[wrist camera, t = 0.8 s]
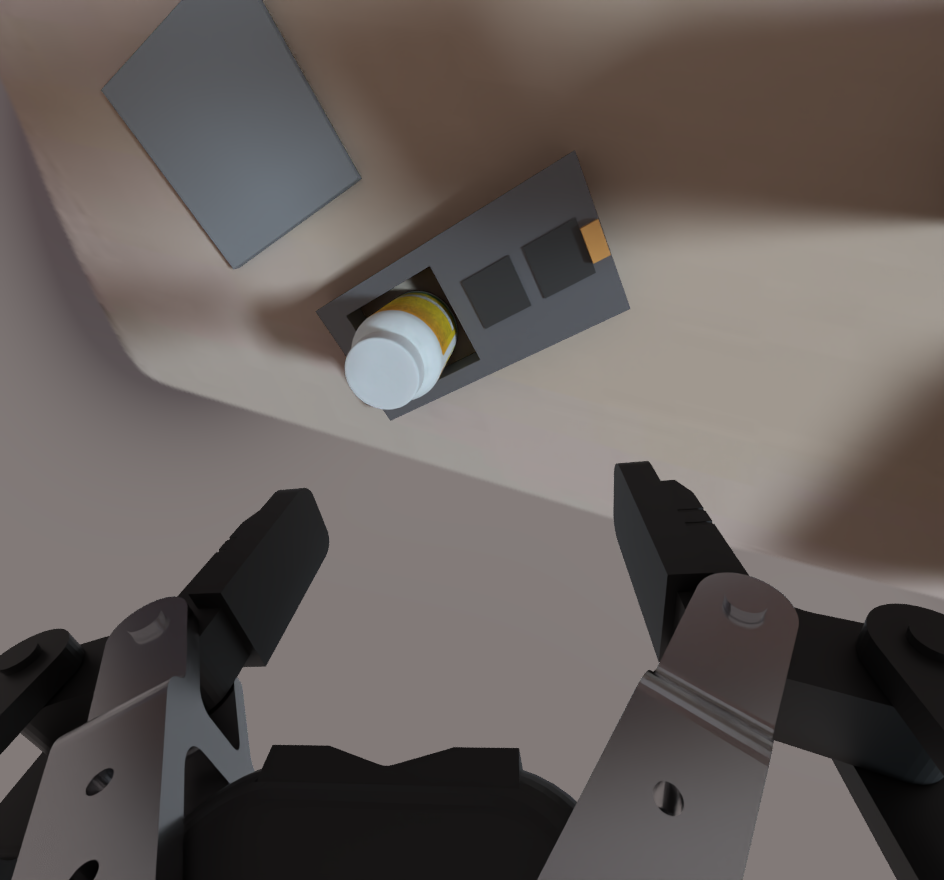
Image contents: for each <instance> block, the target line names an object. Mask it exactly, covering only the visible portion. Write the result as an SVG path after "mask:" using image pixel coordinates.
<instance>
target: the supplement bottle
mask: <svg viewBox="0 0 944 880" xmlns="http://www.w3.org/2000/svg"><path fill="white" fill-rule="evenodd" d="M457 335H458V330H457V323H456V319H455V317H454V315H453V313H452V311H451V310H450V308H449V307H448V306H447V304H446V303H445V302H444V301H443V300H441V299H440V298H439V297H437V296H435V295H433V294H431V293H428V292H424V291H411V292H407V293H405V294H402V295H401V296H399V297H397V298H396V299H394V300H393V301H391V302H390V303H388V304H387V305H385V306H384V307H383V308H381V309H380V310H378V311H377V312H375V313H374V314H373V315H371V316H369V317H368V318H367V319H366V320H365V321H364V322H363V323H362V324H361V325H360V326H359V328H358V329H357V331H356V333H355V335H354V338H353V341H352V347H351V349H350V351H349V353H348V355H347V357H346V360H345V376H346V380H347V382H348V385H349V386H350V388H351V390H352V391H353V392H354V394H355V395H356V396H357V397H358V398H359V399H360V400H362V401H363V402H364V403H366V404H368V405H370V406H372V407H375V408H379V409H385V410H390V409H397V408H400V407H402V406H404V405H406V404H407V403H409V402H410V401H411V400H414V399H417V398H419V397H421V396H423V395H424V394H426V393H427V392H429V391H430V390H431V389H432V388H433V386H434V385H435V384H436V382H437V381H438V379H439V377H440V375H441V373H442V371H443V369H444V367H445V365H446V363H447V361H448V359H449V358H450V356H451V354H452V352H453V350H454V347H455V345H456V342H457Z"/></svg>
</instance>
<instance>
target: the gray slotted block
mask: <svg viewBox="0 0 944 880" xmlns="http://www.w3.org/2000/svg"><path fill="white" fill-rule="evenodd" d="M429 266H430V267H431V269H432V271H433V273H434V275H435V276H436V278H437V280H438V282H439V284H440V286H441V288H442V289H443V291H444V293H445V295H446V297H447V299H448V301H449V302H450V304H451V306H452V308H453V310H454V312H455V314H456V315H457V317H458V319H459V321H460V323H461V325H462V327H463V328H464V330H465V332H466V334H467V336H468V338H469V340H470V341H471V343H472V345H473V347H474V349H475V351H476V352H475V353H473V354H471V355H469V356H467V357H465V358H463V359H461V360H459V361H457V362H455V363H453V364H451V365H449V366H447V367H445V368H444V369H443V371H442V373H441V375H440V377H439V379H438V381H437V382H436V384H435V385H434V386H433V388H432V389H431V390H430V391H429V392H427V393H426V394H424V395H423V396H421V397H419V398H417V399H414V400H411V401H410V402H409V403H407V404H406V405H404V406H402V407H400V408H397V409H390V410H385V409H383V410H384V412H385V413H386V415H387V416H388V418H389V419H390V421H391V420H393V419H395V418H397V417H399V416H402V415H404V414H406V413H408V412H410V411H412V410H414V409H417V408H419V407H421V406H423V405H425V404H427V403H429V402H432V401H434V400H436V399H438V398H440V397H442V396H444V395H447V394H449V393H451V392H453V391H455V390H457V389H459V388H462V387H464V386H466V385H468V384H470V383H472V382H474V381H477V380H479V379H481V378H483V377H485V376H487V375H489V374H492V373H494V372H496V371H498V370H500V369H502V368H504V367H507V366H509V365H511V364H513V363H515V362H517V361H519V360H522V359H524V358H526V357H528V356H530V355H532V354H534V353H537V352H539V351H541V350H543V349H545V348H547V347H549V346H552V345H554V344H556V343H558V342H560V341H562V340H564V339H567V338H569V337H571V336H573V335H575V334H577V333H579V332H582V331H584V330H586V329H588V328H590V327H592V326H594V325H597V324H599V323H601V322H603V321H605V320H607V319H609V318H612V317H614V316H616V315H618V314H620V313H622V312H624V311H627V310H629V309H630V306H629V303H628V300H627V298H626V295H625V292H624V289H623V286H622V283H621V281H620V278H619V275H618V272H617V269H616V266H615V263H614V261H613V258H612V255H611V252H610V249H609V246H608V243H607V241H606V238H605V235H604V232H603V229H602V226H601V224H600V221H599V218H598V215H597V212H596V209H595V206H594V204H593V201H592V198H591V195H590V192H589V189H588V186H587V184H586V181H585V178H584V175H583V172H582V169H581V166H580V164H579V161H578V158H577V155H576V152H575V150H574V151H573V152H571V153H570V154H568V155H566V156H565V157H563V158H561V159H560V160H558V161H557V162H555V163H553V164H552V165H550V166H549V167H547V168H545V169H544V170H542V171H541V172H539V173H537V174H536V175H534V176H533V177H531V178H529V179H528V180H526V181H524V182H523V183H521V184H520V185H518V186H516V187H515V188H513V189H512V190H510V191H508V192H507V193H505V194H504V195H502V196H500V197H499V198H497V199H495V200H494V201H492V202H491V203H489V204H487V205H486V206H484V207H483V208H481V209H479V210H478V211H476V212H475V213H473V214H471V215H470V216H468V217H466V218H465V219H463V220H462V221H460V222H458V223H457V224H455V225H454V226H452V227H450V228H449V229H447V230H446V231H444V232H442V233H441V234H439V235H438V236H436V237H434V238H433V239H431V240H429V241H428V242H426V243H425V244H423V245H421V246H420V247H418V248H417V249H415V250H413V251H412V252H410V253H409V254H407V255H405V256H404V257H402V258H400V259H399V260H397V261H396V262H394V263H392V264H391V265H389V266H388V267H386V268H384V269H383V270H381V271H380V272H378V273H376V274H375V275H373V276H371V277H370V278H368V279H367V280H365V281H363V282H362V283H360V284H359V285H357V286H355V287H354V288H352V289H351V290H349V291H347V292H346V293H344V294H343V295H341V296H339V297H338V298H336V299H334V300H333V301H331V302H330V303H328V304H326V305H325V306H323V307H322V308H320V309H318V310H317V311H316V313H317V314H318V316H319V317H320V319H321V320H322V322H323V323H324V324H325V326H326V327H327V329H328V330H329V332H330V333H331V335H332V336H333V338H334V339H335V341H336V342H337V343H338V345H339V346H340V348H341V349H342V351H343V352H344V354H345V355H346V357H347V355H348V353H349V351H350V349H351V347H352V341H353V338H354V335H355V333H356V331H357V329H358V328H359V326H360V325H361V324H362V323H363V322H364V321H365V320H366V317H365V316H364V314H363V313H362V311H361V309H360V307H362V306H363V305H365V304H367V303H369V302H370V301H372V300H374V299H375V298H377V297H379V296H380V295H382V294H384V293H385V292H387V291H389V290H390V289H392V288H394V287H395V286H397V285H399V284H400V283H402V282H404V281H405V280H407V279H409V278H410V277H412V276H414V275H415V274H417V273H419V272H420V271H422V270H424V269H425V268H427V267H429Z"/></svg>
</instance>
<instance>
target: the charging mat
mask: <svg viewBox="0 0 944 880" xmlns="http://www.w3.org/2000/svg"><path fill="white" fill-rule="evenodd" d="M101 91H102V92H103V93H104V95H105V96H106V97H107V99H108V100H109V101H110V103H111V104H112V106H113V107H114V108H115V110H116V111H117V112H118V114H119V115H120V116H121V118H122V119H123V120H124V122H125V123H126V124H127V126H128V127H129V128H130V130H131V131H132V133H133V134H134V135H135V137H136V138H137V139H138V141H139V142H140V143H141V145H142V146H143V147H144V149H145V150H146V151H147V153H148V154H149V156H150V157H151V158H152V160H153V161H154V162H155V164H156V165H157V166H158V168H159V169H160V170H161V172H162V173H163V174H164V176H165V177H166V178H167V180H168V181H169V183H170V184H171V185H172V187H173V188H174V189H175V191H176V192H177V193H178V195H179V196H180V197H181V199H182V200H183V201H184V203H185V204H186V206H187V207H188V208H189V210H190V211H191V212H192V214H193V215H194V216H195V218H196V219H197V220H198V222H199V223H200V224H201V226H202V227H203V229H204V230H205V231H206V233H207V234H208V235H209V237H210V238H211V239H212V241H213V242H214V243H215V245H216V246H217V247H218V249H219V250H220V251H221V253H222V254H223V256H224V257H225V258H226V260H227V261H228V262H229V264H230V265H231V266H232V268H233V269H237V268H240V267H241V266H242V265H244V264H245V263H247V262H248V261H249V260H251V259H252V258H253V257H255V256H256V255H258V254H259V253H260V252H262V251H263V250H264V249H266V248H267V247H269V246H270V245H271V244H273V243H274V242H275V241H277V240H278V239H280V238H281V237H282V236H284V235H285V234H286V233H288V232H289V231H291V230H292V229H293V228H295V227H296V226H297V225H299V224H300V223H302V222H303V221H304V220H306V219H307V218H308V217H310V216H311V215H313V214H314V213H315V212H317V211H318V210H319V209H321V208H322V207H324V206H325V205H326V204H328V203H329V202H330V201H332V200H333V199H335V198H336V197H337V196H339V195H340V194H341V193H343V192H344V191H346V190H347V189H348V188H350V187H351V186H352V185H354V184H355V183H357V182H358V181H359V180H361V177H360V175H359V173H358V171H357V170H356V168H355V166H354V164H353V162H352V161H351V159H350V157H349V155H348V153H347V152H346V150H345V148H344V146H343V145H342V143H341V141H340V139H339V137H338V136H337V134H336V132H335V130H334V128H333V127H332V125H331V123H330V121H329V119H328V118H327V116H326V114H325V112H324V110H323V109H322V107H321V105H320V103H319V102H318V100H317V98H316V96H315V94H314V93H313V91H312V89H311V87H310V85H309V84H308V82H307V80H306V78H305V76H304V75H303V73H302V71H301V69H300V68H299V66H298V64H297V62H296V60H295V59H294V57H293V55H292V53H291V51H290V50H289V48H288V46H287V44H286V42H285V41H284V39H283V37H282V35H281V34H280V32H279V30H278V28H277V26H276V25H275V23H274V21H273V19H272V17H271V16H270V14H269V12H268V10H267V8H266V7H265V5H264V3H263V1H262V0H181V2H180V3H179V4H178V5H177V6H176V7H175V8H174V9H173V10H172V12H171V13H170V14H169V15H168V16H167V17H166V18H165V19H164V20H163V22H162V23H161V24H160V25H159V26H158V27H157V28H156V29H155V30H154V32H153V33H152V34H151V35H150V36H149V37H148V38H147V39H146V41H145V42H144V43H143V44H142V45H141V46H140V47H139V48H138V49H137V51H136V52H135V53H134V54H133V55H132V56H131V57H130V58H129V59H128V61H127V62H126V63H125V64H124V65H123V66H122V67H121V68H120V69H119V71H118V72H117V73H116V74H115V75H114V76H113V77H112V78H111V79H110V81H109V82H108V83H107V84H106V85H105V86H104V87H103V88H102V90H101Z"/></svg>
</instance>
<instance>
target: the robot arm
mask: <svg viewBox="0 0 944 880" xmlns="http://www.w3.org/2000/svg"><path fill="white" fill-rule="evenodd" d="M614 526H615V531H616V536H617V540H618V543H619V546H620V549H621V552H622V555H623V558H624V561H625V564H626V567H627V570H628V572H629V575H630V578H631V582H632V584H633V587H634V590H635V593H636V596H637V599H638V602H639V605H640V608H641V611H642V614H643V616H644V620H645V623H646V626H647V629H648V631H649V635H650V637H651V641H652V644H653V647H654V650H655V652H656V655H657V658H658V661H659V662H660V663H659V665H658V667H657V668H656V670H655V671H654V672H652V671H651V670H648V671H647V672H646V673H645V674H644V675H643V677H642V678H641V680H640V682H639V683H638V685H637V687H636V689H635V691H634V693H633V695H632V696H631V699H630V701H629V702H628V704H627V706H626V708H625V711H624V712H623V714H622V716H621V718H620V720H619V722H618V724H617V726H616V728H615V730H614V732H613V734H612V736H611V737H610V739H609V741H608V743H607V745H606V747H605V749H604V751H603V753H602V755H601V757H600V759H599V761H598V763H597V765H596V767H595V768H594V770H593V772H592V774H591V776H590V778H589V780H588V782H587V784H586V786H585V788H584V790H583V792H582V794H581V796H580V798H579V800H578V802H576V801H575V800H574V799H573V798H572V797H571V796H570V795H568V794H567V793H566V792H564V791H563V790H561V789H560V788H559V787H557V786H556V785H554V784H553V783H551V782H549V781H547V780H545V779H543V778H541V777H539V776H537V775H535V774H532V773H529V772H527V771H524V770H523V769H522V763H521V757H520V752H519V748H462V747H461V748H460V747H454V748H450V749H447V750H443V751H440V752H437V753H433V754H430V755H426V756H423V757H419V758H416V759H412V760H409V761H405V762H402V763H398V764H395V765H390V766H382V765H379V764H376V763H374V762H371V761H368V760H365V759H363V758H360V757H358V756H355V755H352V754H349V753H347V752H344V751H341V750H339V749H336V748H334V747H331V746H312V745H272V748H271V750H270V752H269V754H268V756H267V759H266V761H265V763H264V766H263V768H262V769H260V770H257V771H254V769H253V765H252V762H251V758H250V749H249V741H248V733H247V724H246V715H245V706H244V698H243V690H242V684H241V682H240V681H239V679H238V678H237V676H238V674H239V673H240V671H241V669H242V668H243V667H261V666H266V665H267V663H268V661H269V659H270V657H271V655H272V654H273V652H274V650H275V648H276V647H277V645H278V643H279V641H280V639H281V637H282V636H283V634H284V632H285V630H286V628H287V626H288V624H289V622H290V621H291V619H292V617H293V615H294V614H295V612H296V610H297V608H298V605H299V604H300V602H301V600H302V599H303V597H304V595H305V593H306V591H307V590H308V588H309V586H310V584H311V582H312V580H313V578H314V577H315V575H316V573H317V571H318V569H319V568H320V566H321V564H322V562H323V560H324V558H325V557H326V554H327V552H328V548H329V536H328V531H327V529H326V526H325V524H324V521H323V519H322V516H321V514H320V511H319V509H318V506H317V504H316V501H315V499H314V497H313V494H312V492H311V491H310V490H309V489H307V488H299V489H287V490H278V491H277V492H275V493H274V494H273V496H272V497H271V498H270V499H269V500H268V501H267V503H266V504H265V505H264V506H263V507H262V508H261V510H260V511H258V512H257V513H255V514H254V515H252V516H251V517H250V518H248V519H247V520H245V521H244V522H243V523H242V524H241V525H240V526H239V527H238V528H237V529H236V531H235V532H234V533H233V534H232V535H231V536H230V540H227V541H226V542H225V543H224V544H223V545H222V547H221V548H220V549H219V552H217V553H215V554H214V555H213V557H212V558H211V559H210V560H209V561H208V562H207V563H206V565H205V566H204V567H203V568H202V569H201V570H200V572H199V573H198V574H197V575H196V576H195V577H194V578H193V580H191V582H190V583H189V584H188V585H187V586H186V587H185V589H184V590H183V591H182V592H181V593H180V594H179V596H177V597H175V596H174V597H166V598H162V599H159V600H156V601H154V602H151V603H149V604H147V605H145V606H143V607H142V608H140V609H138V610H137V611H135V612H134V613H132V614H131V615H130V616H128V617H127V618H126V619H124V620H123V621H122V622H121V623H120V624H119V625H118V626H117V627H116V628H115V629H114V631H113V632H112V633H111V635H110V636H108V637H104V638H101V639H97V640H94V641H91V642H87V643H84V644H81V645H80V644H79V643H78V642H77V641H76V640H75V639H74V638H73V637H72V636H71V635H70V633H69V632H68V631H66V630H64V629H53V630H48V631H44V632H42V633H39V634H36V635H35V636H32V637H30V638H28V639H26V640H24V641H22V642H20V643H18V644H17V645H15V646H13V647H12V648H10V649H9V650H7V651H6V652H4V653H3V654H2V655H0V754H1V753H2V752H3V751H4V750H5V749H6V748H7V747H8V746H9V745H10V743H11V742H12V741H13V740H14V739H15V738H16V737H17V736H18V735H19V733H21V734H22V735H23V736H25V737H26V738H27V739H28V740H29V741H31V742H32V743H33V744H34V745H35V746H37V747H38V748H39V749H40V750H41V751H43V752H42V754H41V755H40V756H39V757H38V758H37V760H36V761H35V762H34V763H33V765H32V766H31V767H30V768H29V769H28V770H27V772H26V773H25V774H24V775H23V776H22V778H21V779H20V780H19V781H18V782H17V784H16V785H15V786H14V787H13V788H12V790H11V791H10V792H9V793H8V795H7V796H6V797H5V798H4V799H3V801H2V802H1V803H0V880H743V876H744V871H745V867H746V862H747V858H748V854H749V850H750V845H751V841H752V837H753V832H754V828H755V824H756V820H757V815H758V811H759V806H760V802H761V798H762V793H763V789H764V785H765V780H766V776H767V772H768V768H769V763H770V759H771V754H772V749H773V741H774V740H775V741H779V742H782V743H785V744H788V745H791V746H795V747H797V748H800V749H803V750H807V751H810V752H813V753H816V754H819V755H822V756H825V757H828V758H831V759H832V760H833V762H834V764H835V766H836V768H837V769H838V771H839V773H840V775H841V777H842V779H843V781H844V782H845V784H846V786H847V788H848V790H849V792H850V794H851V795H852V797H853V799H854V801H855V803H856V805H857V806H858V808H859V810H860V812H861V814H862V816H863V818H864V819H865V821H866V823H867V825H868V827H869V829H870V831H871V832H872V834H873V836H874V838H875V840H876V842H877V844H878V845H879V847H880V849H881V851H882V853H883V855H884V856H885V858H886V860H887V862H888V864H889V866H890V868H891V869H892V871H893V873H894V875H895V877H896V879H897V880H944V614H941V613H938V612H936V611H933V610H929V609H926V608H922V607H918V606H912V605H907V604H886V605H881V606H878V607H876V608H874V609H873V610H872V611H870V613H869V614H868V616H867V618H866V620H865V623H860V622H855V621H850V620H845V619H840V618H835V617H830V616H826V615H820V614H816V613H812V612H807V611H803V610H801V609H798V608H795V607H793V605H792V604H791V602H790V601H789V600H788V599H787V598H786V597H785V596H784V595H783V594H782V593H781V592H779V591H778V590H777V589H775V588H774V587H772V586H771V585H769V584H767V583H765V582H764V581H761V580H759V579H757V578H754V577H751V576H749V575H748V573H747V572H746V570H745V569H744V568H743V566H742V565H741V563H740V562H739V560H738V559H737V557H736V556H735V554H734V553H733V551H732V550H731V548H730V547H729V545H728V544H727V542H726V541H725V539H724V538H723V536H722V535H721V533H720V532H719V530H718V529H717V527H716V526H715V524H712V520H711V518H710V517H709V516H708V514H707V513H706V511H704V510H703V507H702V505H701V504H700V502H699V501H698V499H697V498H696V496H695V495H694V493H693V492H692V491H690V490H689V489H687V488H686V487H684V486H683V485H681V484H680V483H678V482H677V481H675V480H667V481H660V479H659V477H658V476H657V474H656V472H655V470H654V469H653V467H652V465H651V464H650V462H649V461H642V462H630V463H618V464H616V465H615V469H614Z"/></svg>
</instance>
